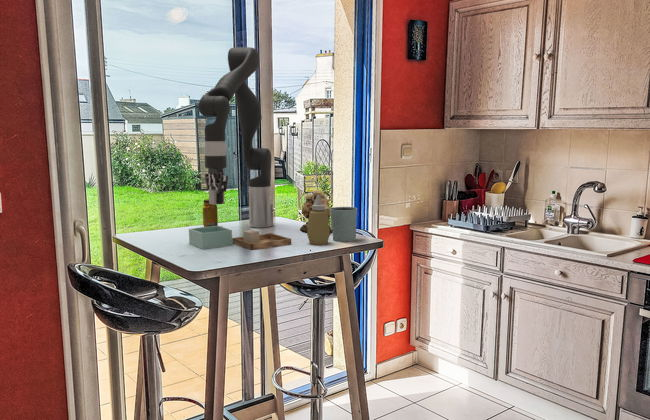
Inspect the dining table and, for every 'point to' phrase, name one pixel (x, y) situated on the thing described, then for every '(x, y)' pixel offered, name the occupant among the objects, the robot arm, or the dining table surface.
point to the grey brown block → (213, 197)
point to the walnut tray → (263, 242)
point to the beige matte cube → (251, 236)
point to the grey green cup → (344, 223)
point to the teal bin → (210, 237)
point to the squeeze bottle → (318, 224)
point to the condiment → (210, 214)
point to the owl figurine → (308, 207)
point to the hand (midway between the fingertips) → (216, 203)
